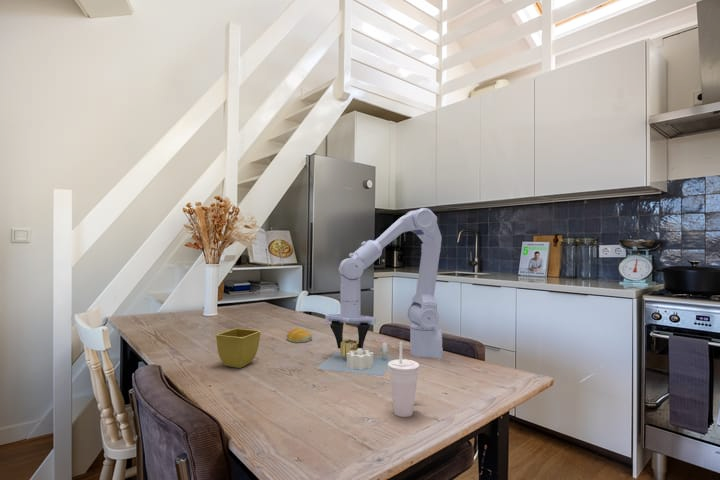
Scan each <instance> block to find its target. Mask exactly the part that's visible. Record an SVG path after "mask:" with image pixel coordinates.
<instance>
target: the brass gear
mask: <svg viewBox="0 0 720 480" xmlns="http://www.w3.org/2000/svg"><path fill="white" fill-rule="evenodd" d="M348 342H353V343H352V344H350V343H348ZM358 342H359V339H350V338H349V339H343V340H342V342H341V346H340V350H339V352H340V354H342V355H343V356H347V353H349V351H351V350H352V351H357V349H358Z"/></svg>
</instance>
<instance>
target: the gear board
mask: <svg viewBox="0 0 720 480" xmlns="http://www.w3.org/2000/svg"><path fill="white" fill-rule="evenodd" d="M348 343H350V344H352V343H353V342H348ZM363 349H364V348H363ZM363 349H362V348H358V349H357V355H363V351H364V350H363ZM395 358H396V357H395V356H388V343H387V342H382V343H381V355H376V354H375V355H374V354H373V366H372V368H371V369H367V368H366V369H363V370H359V369H353V370H352V369H350V367H347V356H343V355H342V354H340V351H336V352H335V353H333V354H332V355H331V356H329V357H328V358H327V359H326V360H324V361H323V362H321V364H319V365H318V366H316V368H315V370H323V371H324V370H325V371H333V372H334V371H335V372H343V373H350V374H351V373H352V374H361V375H362V374H363V375H371V376H381V377H382V376H384V375H385V373H386V372H387V370H388V363H389V362H390V361H392V360H396V359H395Z"/></svg>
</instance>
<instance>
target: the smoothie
mask: <svg viewBox="0 0 720 480" xmlns="http://www.w3.org/2000/svg"><path fill="white" fill-rule="evenodd" d="M398 352H399V359H394V360H392V361H390V362H389V363H388V369H387V370H388V371H389V380H390V387H391V394H392V395H391V398H392V405H393V413H394V415H396V416H398V417H402V418H407V417H408V418H409V417H411V416H412V415H413V414H414V406H415V399H416V389H417V382H418V374H419V372H420V370H421V369H420V363H419V362H417V361H415V360H411V359H403V342H402V341H399V351H398Z"/></svg>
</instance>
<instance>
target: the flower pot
mask: <svg viewBox="0 0 720 480" xmlns="http://www.w3.org/2000/svg"><path fill="white" fill-rule="evenodd" d="M215 337H216V344H217V352H218V356H219V358H220V361H221V362H222V364H223V365H224V366H225V367H231V368H237V369H241V368H243V367H246V366H247V365H249V364H251V363H252V362H253V360H254V359H255V356H256V355H257V353H258V349H259V344H260V337H261V330H255V329H247V328H246V329H245V328H236V327H235V328H233V329H230V330H225V331H223V332H220V333H217V334H216V335H215Z"/></svg>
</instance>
